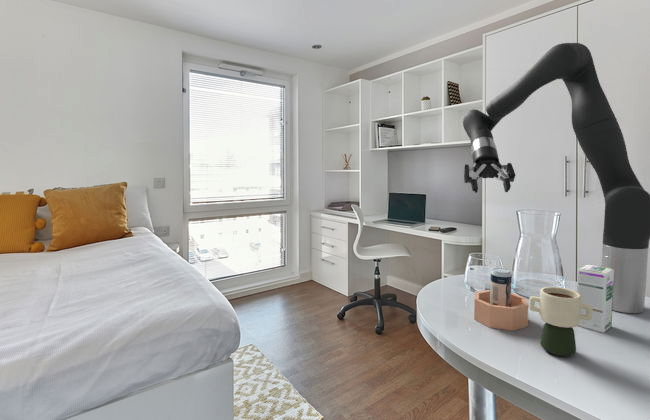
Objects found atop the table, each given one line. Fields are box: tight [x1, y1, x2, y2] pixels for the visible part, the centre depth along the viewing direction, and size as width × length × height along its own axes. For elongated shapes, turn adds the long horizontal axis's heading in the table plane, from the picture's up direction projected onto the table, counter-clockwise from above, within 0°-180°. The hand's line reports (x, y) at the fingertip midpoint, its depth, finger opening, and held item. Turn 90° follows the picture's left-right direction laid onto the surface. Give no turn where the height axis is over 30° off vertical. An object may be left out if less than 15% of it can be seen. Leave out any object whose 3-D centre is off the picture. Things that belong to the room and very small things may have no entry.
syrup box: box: [576, 264, 614, 334], centre depth 82 cm, size 6×6×14 cm
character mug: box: [528, 286, 593, 357], centre depth 71 cm, size 11×7×13 cm, turn 57°
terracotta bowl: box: [473, 289, 529, 331], centre depth 88 cm, size 12×12×6 cm
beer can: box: [489, 267, 513, 307], centre depth 87 cm, size 5×5×12 cm
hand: (491, 190), depth 102 cm, fingers open, 8 cm apart
